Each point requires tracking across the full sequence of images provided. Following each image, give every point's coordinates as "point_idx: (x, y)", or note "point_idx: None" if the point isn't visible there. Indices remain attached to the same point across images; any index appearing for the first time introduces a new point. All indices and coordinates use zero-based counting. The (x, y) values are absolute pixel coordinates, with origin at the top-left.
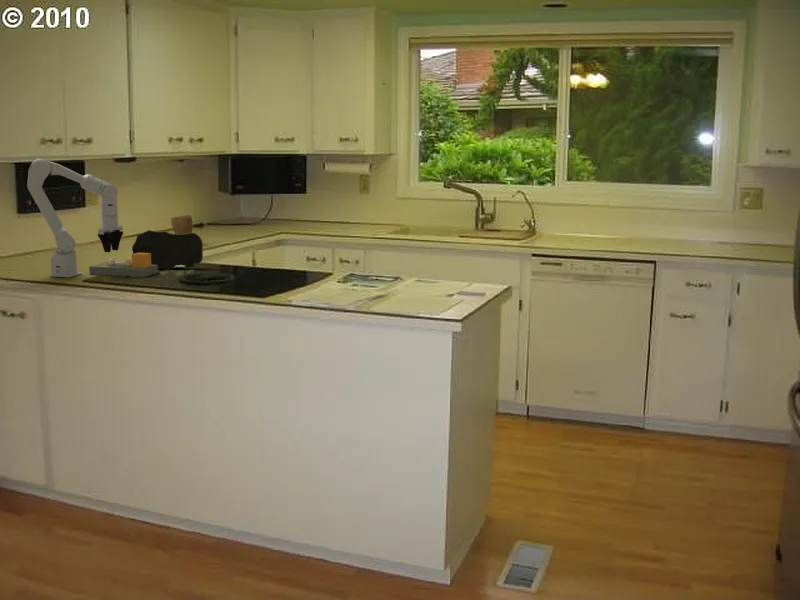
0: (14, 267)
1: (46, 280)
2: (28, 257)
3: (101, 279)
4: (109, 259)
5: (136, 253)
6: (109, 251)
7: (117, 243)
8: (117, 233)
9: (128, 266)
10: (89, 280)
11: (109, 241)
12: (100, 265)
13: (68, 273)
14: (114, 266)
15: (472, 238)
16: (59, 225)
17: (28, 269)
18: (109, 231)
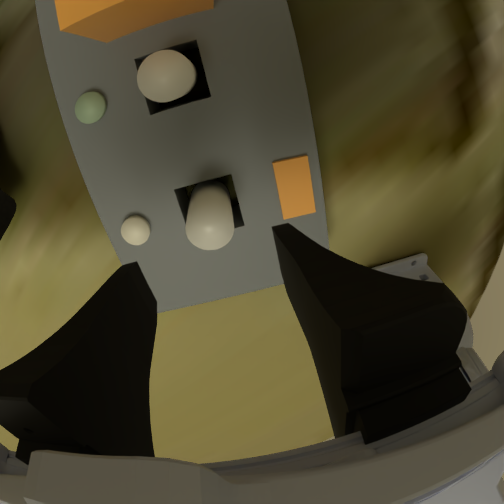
0: (294, 448)
1: (470, 271)
2: None
3: (412, 93)
4: (233, 229)
5: None
6: (291, 225)
7: (114, 306)
8: (77, 416)
9: (190, 61)
10: (449, 131)
11: (365, 267)
12: (264, 254)
13: (415, 274)
14: (250, 147)
15: None
16: (500, 482)
17: (306, 426)
18: (281, 470)
